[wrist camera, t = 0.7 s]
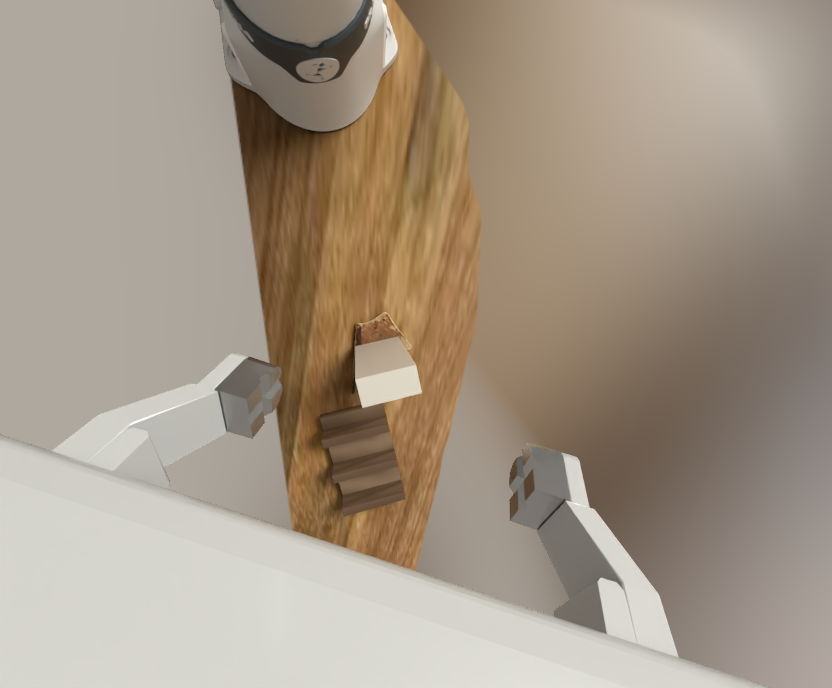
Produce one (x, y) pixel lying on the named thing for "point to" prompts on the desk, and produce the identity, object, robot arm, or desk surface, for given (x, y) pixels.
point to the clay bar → (385, 372)
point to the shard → (376, 335)
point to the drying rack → (362, 457)
